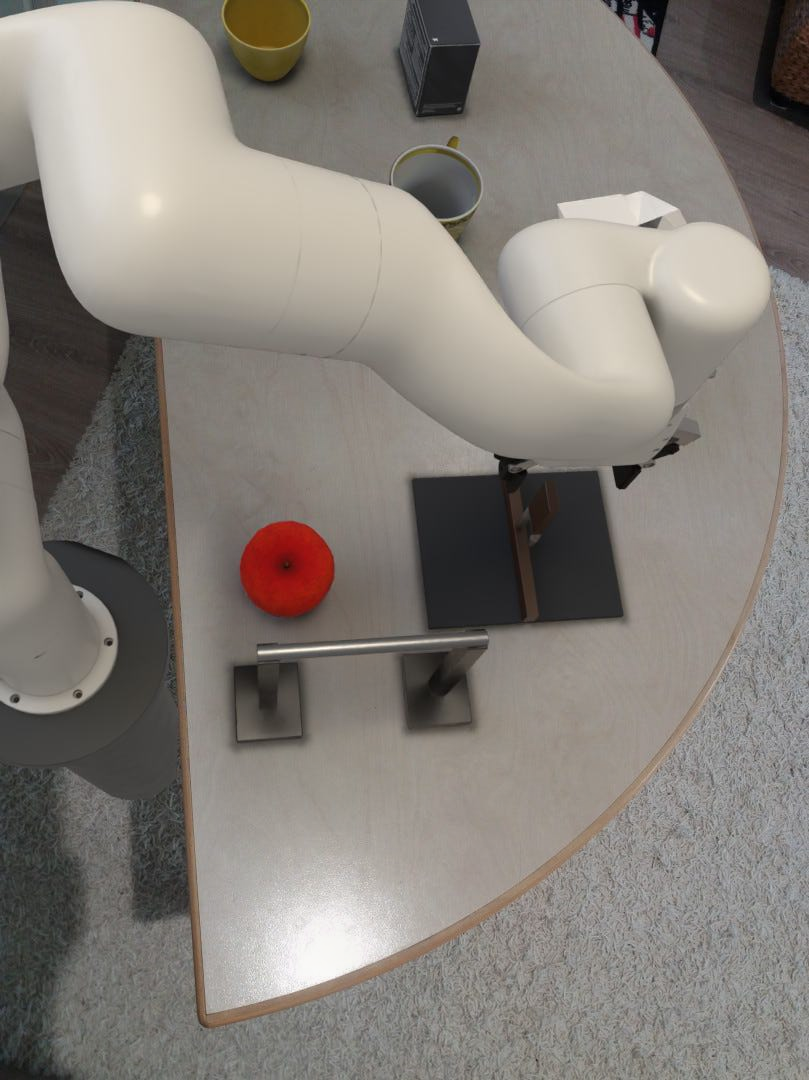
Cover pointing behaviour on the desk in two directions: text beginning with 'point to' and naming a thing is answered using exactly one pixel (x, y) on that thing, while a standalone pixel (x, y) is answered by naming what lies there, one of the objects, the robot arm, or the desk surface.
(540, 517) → the hanger
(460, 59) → the small box
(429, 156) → the ceramic cup
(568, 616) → the mat
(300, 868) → the desk surface
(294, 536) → the apple
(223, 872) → the desk surface
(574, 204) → the tissue box
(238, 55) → the flower pot
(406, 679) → the rail
